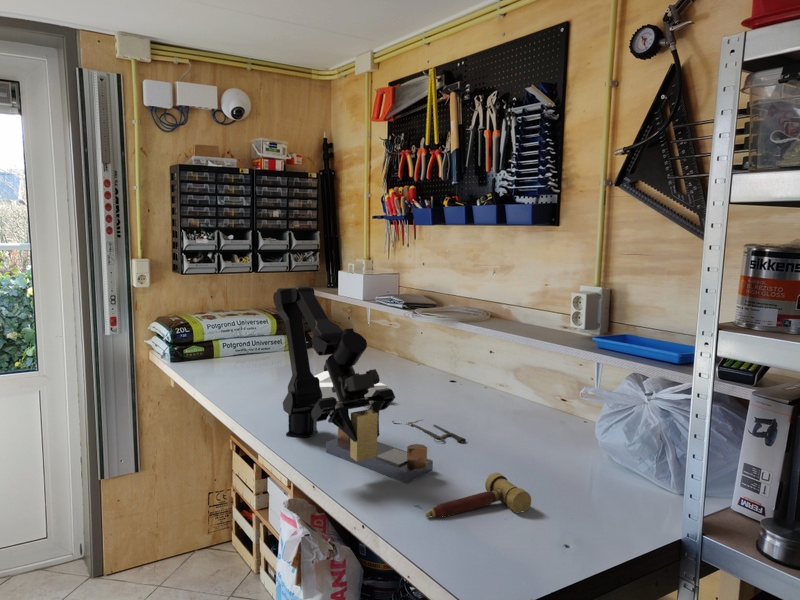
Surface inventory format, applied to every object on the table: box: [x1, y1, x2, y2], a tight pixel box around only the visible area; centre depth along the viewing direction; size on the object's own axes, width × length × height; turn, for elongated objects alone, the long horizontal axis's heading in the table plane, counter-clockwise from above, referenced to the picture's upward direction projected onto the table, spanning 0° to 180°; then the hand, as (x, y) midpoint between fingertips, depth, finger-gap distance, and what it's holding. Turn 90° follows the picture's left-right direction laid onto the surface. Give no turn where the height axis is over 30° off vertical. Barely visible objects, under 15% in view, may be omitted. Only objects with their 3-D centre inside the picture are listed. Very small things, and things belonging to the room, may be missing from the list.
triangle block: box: [314, 370, 388, 401], centre depth 191 cm, size 30×26×6 cm
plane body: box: [325, 427, 434, 484], centre depth 141 cm, size 27×9×6 cm, turn 49°
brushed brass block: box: [350, 409, 378, 461], centre depth 131 cm, size 3×5×10 cm, turn 123°
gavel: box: [424, 472, 532, 518], centre depth 119 cm, size 21×5×10 cm
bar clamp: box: [391, 419, 467, 444], centre depth 162 cm, size 24×10×2 cm, turn 29°
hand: (367, 438), depth 130 cm, fingers closed on brushed brass block, 5 cm apart
